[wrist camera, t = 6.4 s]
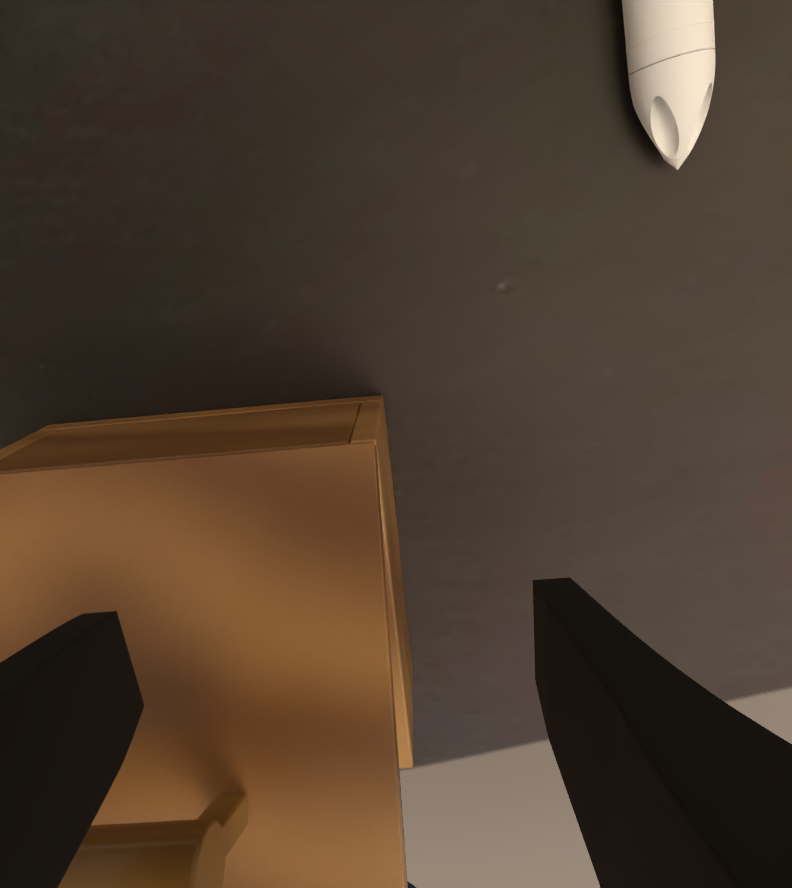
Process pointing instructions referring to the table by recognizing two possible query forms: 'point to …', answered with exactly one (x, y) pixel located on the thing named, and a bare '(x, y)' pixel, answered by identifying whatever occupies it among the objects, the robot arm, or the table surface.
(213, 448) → the keepsake box
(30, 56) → the table surface
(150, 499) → the brown piece
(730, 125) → the table surface
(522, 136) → the table surface
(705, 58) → the marker
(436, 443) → the table surface
